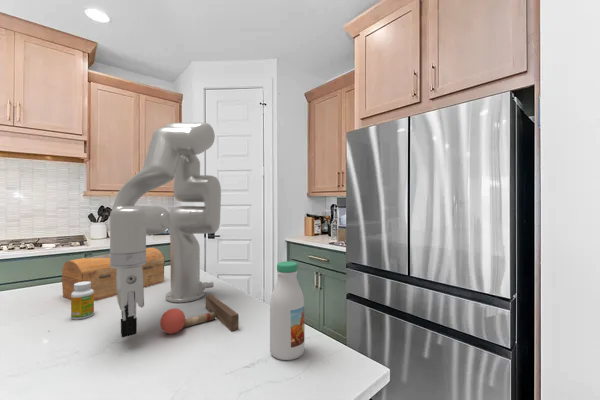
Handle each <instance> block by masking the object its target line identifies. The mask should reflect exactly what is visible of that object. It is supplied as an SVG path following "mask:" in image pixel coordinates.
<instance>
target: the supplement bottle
mask: <svg viewBox="0 0 600 400" xmlns="http://www.w3.org/2000/svg"><path fill="white" fill-rule="evenodd" d="M90 287H91V282H89V281H85V282H78V283H75V284H74V290H75V291H74V292H72V294H71V300H70V318H71V320H74V321H75V320H85V319H88V318H91V317H92V316H94V314H95V301H94V290H93V289H90Z"/></svg>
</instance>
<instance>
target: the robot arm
mask: <svg viewBox="0 0 600 400" xmlns="http://www.w3.org/2000/svg"><path fill="white" fill-rule="evenodd" d="M213 128H214V127H213V126H212V125H211V124H210V123H207V122H172V123H167V124H165V125H164V126H163V127H160V128H157V129H155V131H154V132H153V133H152V137H151V139H150V143H149V145H148V149H147V153H146V156H145V160H144V162H143V163H144V164H143V166H142V168H141V170H140V171H139V172H137V173H136V174H135V175H133V176H132V177H131V178H130V179H129V180H128V181H127V182H126V183H125V184H123V185H122V187H121V188H120V190H119V191H118V192H117V194H116V197H115V199H114V202H113V204H112V205H113V206H112V209H111V211H110V214H109V254H110V267H111V268H116V290H117V295H116V298H117V299H116V300H117V303H118V307H119V309H120V310H121V312H120V313H121V318H120V336H121V338H126V337H130V336H135V335H137V333H138V332H137V331H138V329H137V327H138V317H137V306H138V307H139V308H144V307H145V288H144V285H143V271H142V265H145V264H146V248H147V235H160V234H162V233H164V232H165V231H167V230H168V232H169V241H170V291H169V292H168V293H166V294H165V300H166V301H167V302H171V303H189V302H193V301H196V300H199V299H201V298H203V297H204V296H205V289H212V288H214V287H215V285H214V282H213V281H211V282H208V281H204V282H202V281H200V280H201V276H200V275H201V273H200V272H201V271H200V267H201V265H200V264H201V263H200V260H201V258H200V256H201V254H200V253H201V248H200V247H201V246H200V242H199V241H198V239H197V238H196V236H195V235H194V234H197V235H198V234H200V235H201V234H207V235H209V234H214V233H216V232H217V231H218V230H219V229H220V226H221V206H222V205H221V204H222V203H221V201H222V199H221V198H222V187H221V183H220V180H219V178H217V176H214V175H209V174H207V175H205V174H204V175H203V174H202V175H201V161H200V159H199V157H198V155H200V154H202V153H204V152H205V151H207V150H209V149H210V148H212V146H213V145H214V142H215V137H216V136H215V131H214V129H213ZM172 181H173V195H174V198H175V199H176V201H178V202H182V203H204V205H198V206H197V205H182V206H181V205H179V206H175V207H173V208H171V209H170V210H169V211H168V210H167V209H166V208H165V207H162V206H158V205H136V204H137V202H138V201H139V199H141V198H142V197H143V196H144V195H145V194H147V193H148V192H150V191H152V190H155V189H157V188H160V187H162V186H164V185H166V184H168V183H170V182H172Z"/></svg>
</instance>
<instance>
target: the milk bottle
mask: <svg viewBox="0 0 600 400" xmlns="http://www.w3.org/2000/svg"><path fill="white" fill-rule="evenodd" d="M298 268H299V267H298V263H297V262H295V261H288V260H287V261H280V262H278V263H277V264H276V271H277V272H276V274H277V278H276V279H277V280H276V284H275V286H274V287H273V290H272V293H271V297H270V302H269V303H270V305H269V308H270V309H269V352H270V354H271V356H272V357H274V358H275V359H278V360H282V361H292V360H295V359H296V360H297V359H298V358H300V357H302V356H303V354H304V352H305V338H306V337H305V335H306V334H305V299H304V294H303V291H302V289H301V286H300V284H299V281H298V278H297V277H298V276H297V274H298Z"/></svg>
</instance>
